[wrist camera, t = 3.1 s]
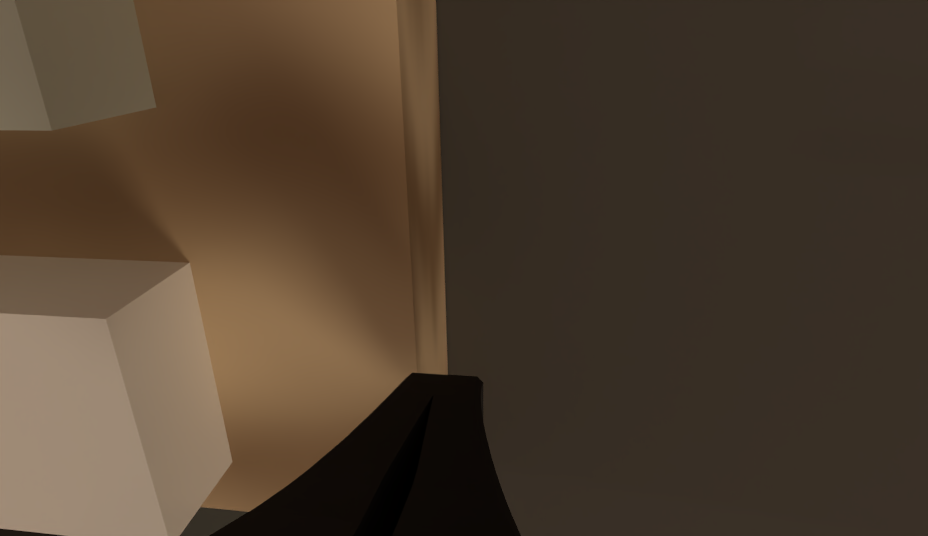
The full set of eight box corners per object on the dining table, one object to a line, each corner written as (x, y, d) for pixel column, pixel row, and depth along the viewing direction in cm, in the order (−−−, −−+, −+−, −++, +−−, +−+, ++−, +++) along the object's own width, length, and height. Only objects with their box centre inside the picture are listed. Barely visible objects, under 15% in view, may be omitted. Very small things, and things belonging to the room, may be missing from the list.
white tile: (232, 462, 14) (171, 547, 11) (39, 445, 14) (-54, 522, 12) (189, 262, 12) (106, 318, 9) (-32, 254, 12) (-158, 304, 10)
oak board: (449, 432, 17) (425, 529, 14) (14, 399, 19) (-97, 477, 15) (426, -290, 11) (373, -425, 7) (-225, -233, 12) (-494, -320, 9)
